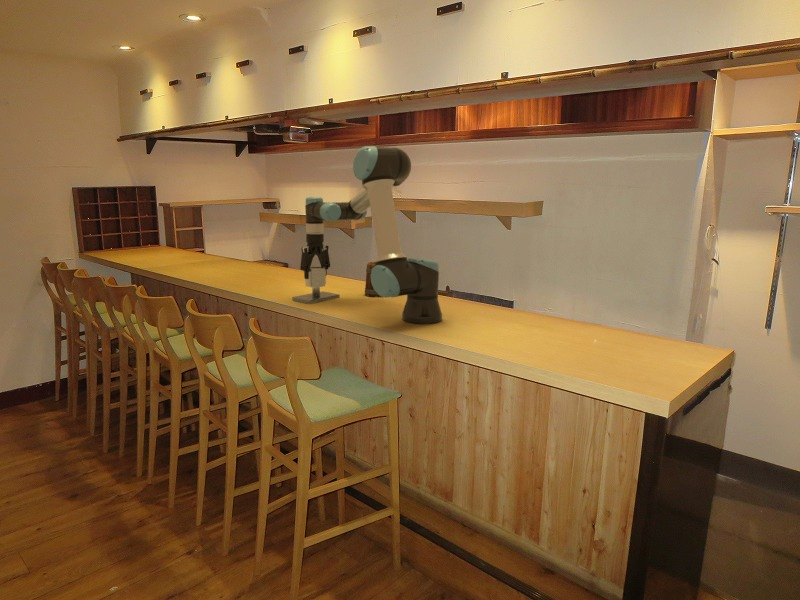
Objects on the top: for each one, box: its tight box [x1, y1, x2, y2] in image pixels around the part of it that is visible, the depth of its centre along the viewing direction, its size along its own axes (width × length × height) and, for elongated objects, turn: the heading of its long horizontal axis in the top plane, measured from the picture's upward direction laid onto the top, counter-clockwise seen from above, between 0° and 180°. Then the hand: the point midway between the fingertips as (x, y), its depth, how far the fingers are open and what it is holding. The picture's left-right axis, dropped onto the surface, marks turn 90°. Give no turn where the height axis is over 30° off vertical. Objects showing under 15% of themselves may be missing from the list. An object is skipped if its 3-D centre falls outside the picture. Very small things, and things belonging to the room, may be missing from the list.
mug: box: [364, 261, 382, 298], centre depth 245 cm, size 16×11×15 cm
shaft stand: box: [291, 287, 341, 305], centre depth 236 cm, size 11×18×10 cm, turn 141°
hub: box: [307, 265, 326, 288], centre depth 234 cm, size 8×8×8 cm
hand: (315, 284), depth 235 cm, fingers closed on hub, 8 cm apart
